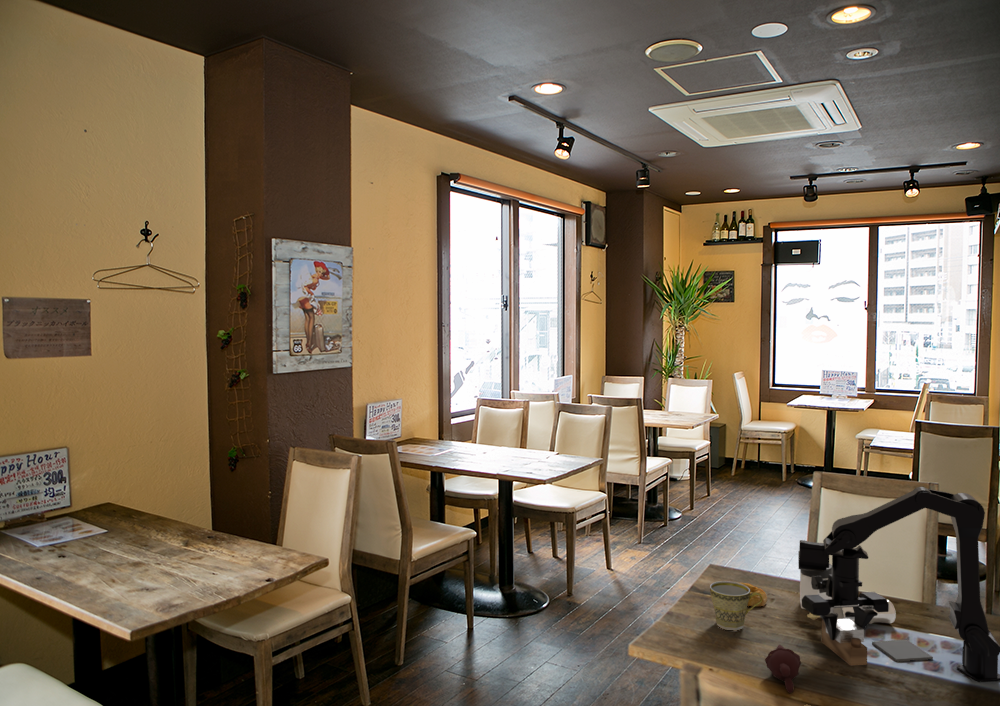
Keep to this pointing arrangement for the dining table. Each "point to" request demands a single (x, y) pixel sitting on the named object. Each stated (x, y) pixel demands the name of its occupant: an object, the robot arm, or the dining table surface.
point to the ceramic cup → (731, 603)
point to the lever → (816, 616)
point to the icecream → (784, 665)
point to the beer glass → (881, 617)
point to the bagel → (756, 598)
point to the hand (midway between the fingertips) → (844, 638)
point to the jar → (806, 583)
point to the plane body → (846, 649)
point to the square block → (848, 631)
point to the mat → (902, 650)
